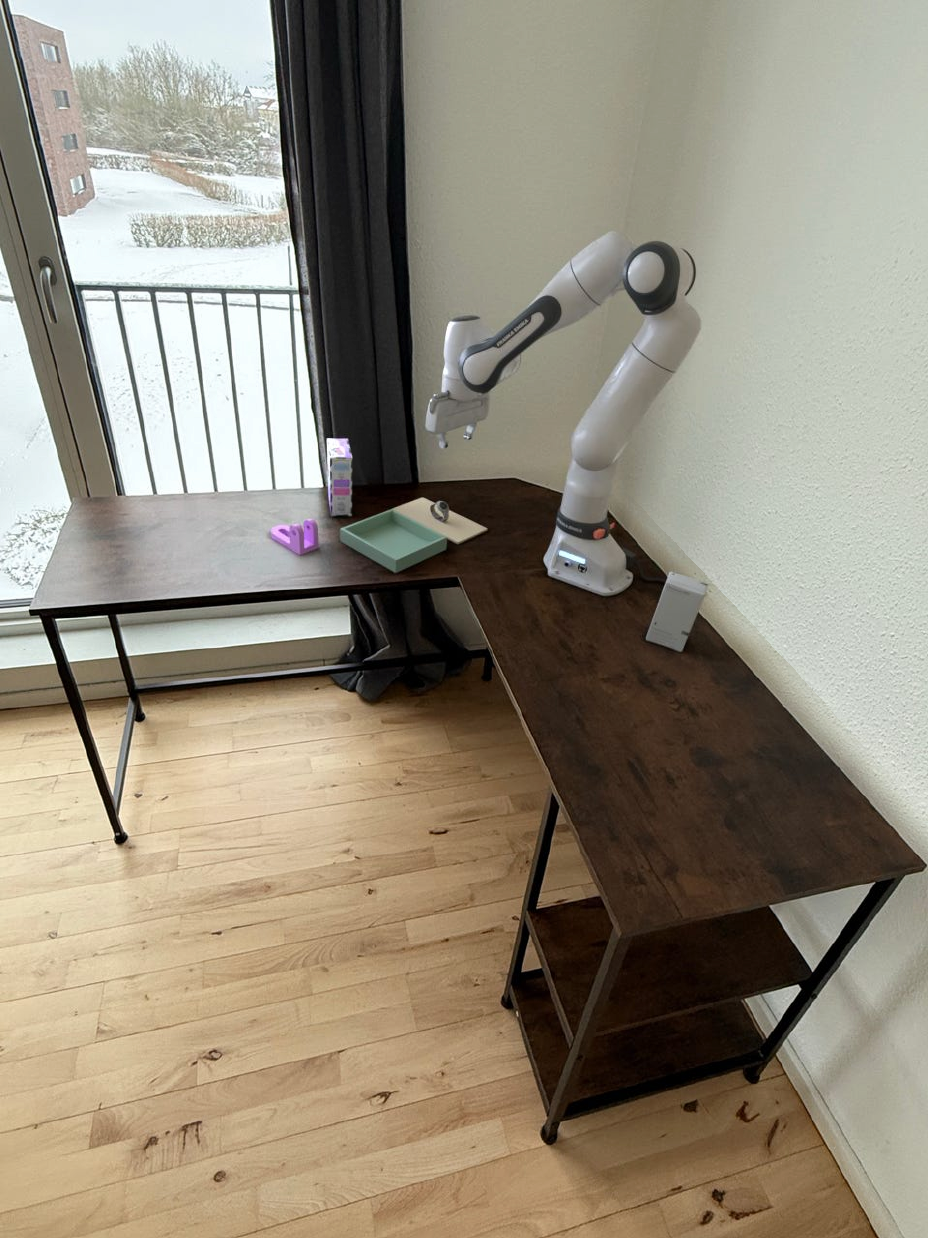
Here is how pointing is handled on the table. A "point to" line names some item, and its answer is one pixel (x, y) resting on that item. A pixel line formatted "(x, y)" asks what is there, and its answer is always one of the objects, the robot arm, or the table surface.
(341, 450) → the candy box
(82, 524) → the table surface
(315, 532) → the bracket
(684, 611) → the cosmetic box
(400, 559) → the tray
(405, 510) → the mat
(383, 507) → the table surface
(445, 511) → the wristwatch
